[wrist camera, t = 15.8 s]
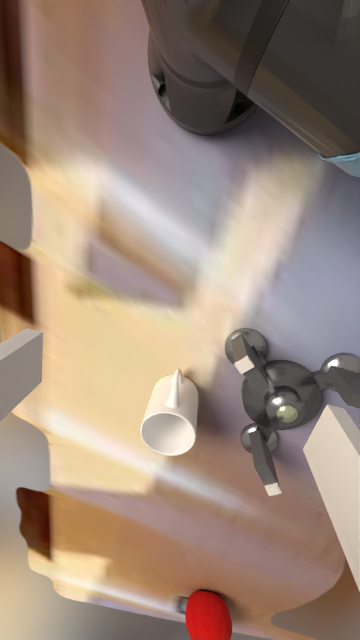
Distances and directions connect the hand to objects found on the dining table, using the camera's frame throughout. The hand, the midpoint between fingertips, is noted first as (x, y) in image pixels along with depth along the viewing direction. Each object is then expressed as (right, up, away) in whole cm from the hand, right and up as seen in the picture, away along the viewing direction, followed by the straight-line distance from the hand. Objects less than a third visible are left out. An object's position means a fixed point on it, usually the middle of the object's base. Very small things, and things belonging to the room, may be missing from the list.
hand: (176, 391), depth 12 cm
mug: (0, -9, +38) cm, 39 cm away
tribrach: (+18, -11, +36) cm, 42 cm away
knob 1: (+11, -2, +32) cm, 34 cm away
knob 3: (+28, -6, +32) cm, 42 cm away
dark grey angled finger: (+15, -20, +38) cm, 46 cm away
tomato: (+8, -73, +61) cm, 96 cm away
